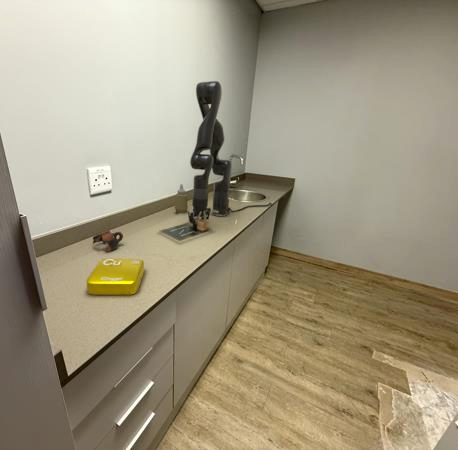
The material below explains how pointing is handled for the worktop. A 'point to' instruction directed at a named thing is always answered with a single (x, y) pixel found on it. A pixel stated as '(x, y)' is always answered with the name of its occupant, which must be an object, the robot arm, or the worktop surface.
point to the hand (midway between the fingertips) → (199, 229)
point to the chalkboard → (181, 232)
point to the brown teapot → (108, 239)
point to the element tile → (116, 277)
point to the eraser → (201, 225)
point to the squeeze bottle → (181, 201)
